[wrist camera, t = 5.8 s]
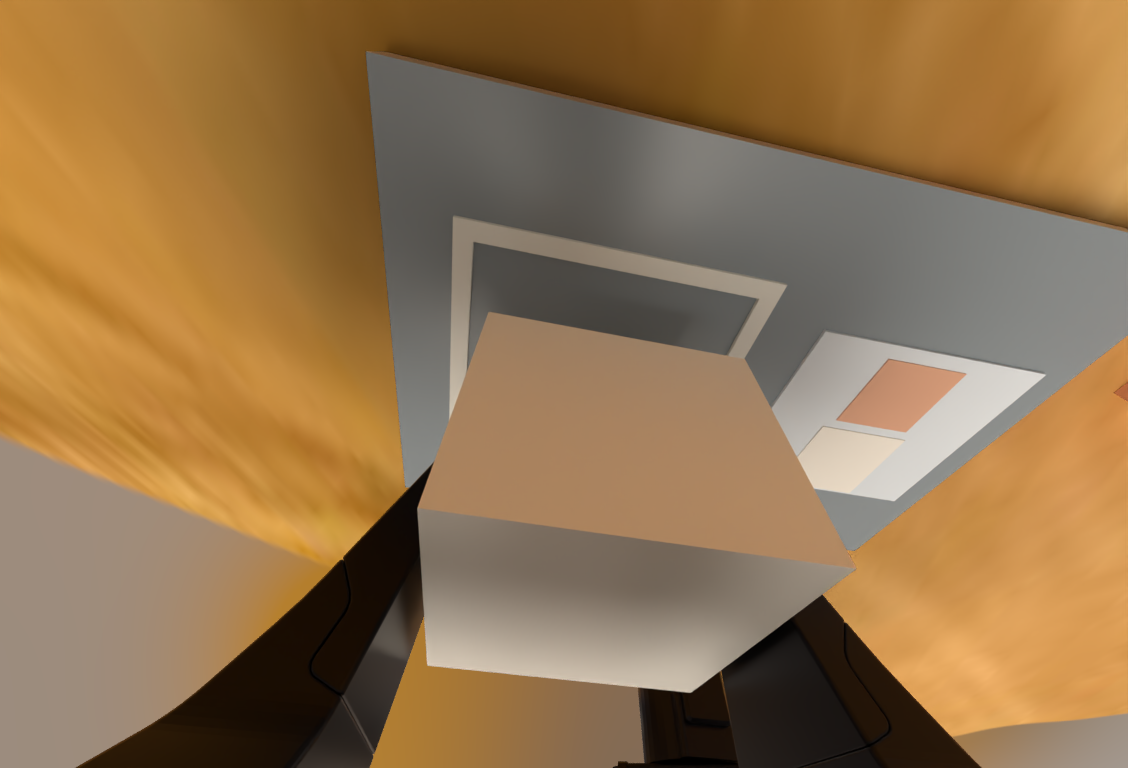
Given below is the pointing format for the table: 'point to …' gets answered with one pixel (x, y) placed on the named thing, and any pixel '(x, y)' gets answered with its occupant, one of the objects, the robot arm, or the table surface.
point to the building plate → (732, 275)
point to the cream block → (614, 513)
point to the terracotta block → (1123, 392)
